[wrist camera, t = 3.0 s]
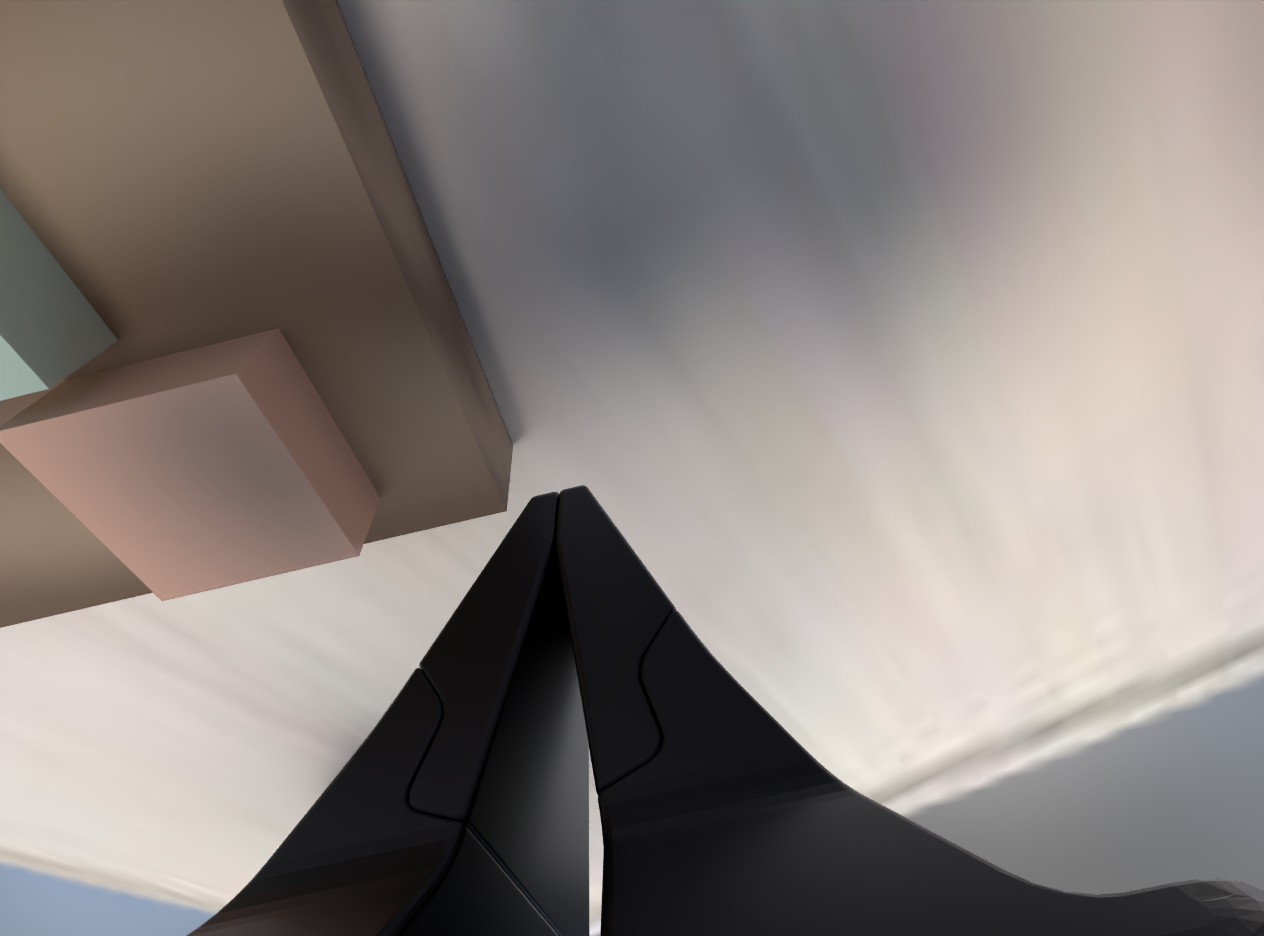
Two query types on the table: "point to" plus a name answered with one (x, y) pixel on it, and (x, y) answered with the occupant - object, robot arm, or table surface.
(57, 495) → the terracotta tile
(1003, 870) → the robot arm
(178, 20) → the walnut board
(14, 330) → the sage tile
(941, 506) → the table surface
